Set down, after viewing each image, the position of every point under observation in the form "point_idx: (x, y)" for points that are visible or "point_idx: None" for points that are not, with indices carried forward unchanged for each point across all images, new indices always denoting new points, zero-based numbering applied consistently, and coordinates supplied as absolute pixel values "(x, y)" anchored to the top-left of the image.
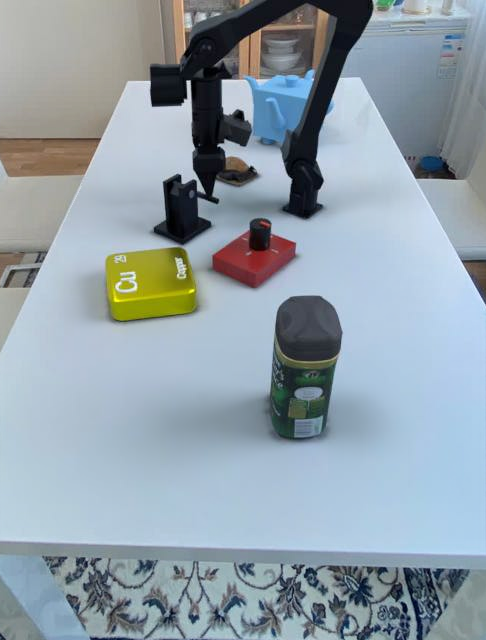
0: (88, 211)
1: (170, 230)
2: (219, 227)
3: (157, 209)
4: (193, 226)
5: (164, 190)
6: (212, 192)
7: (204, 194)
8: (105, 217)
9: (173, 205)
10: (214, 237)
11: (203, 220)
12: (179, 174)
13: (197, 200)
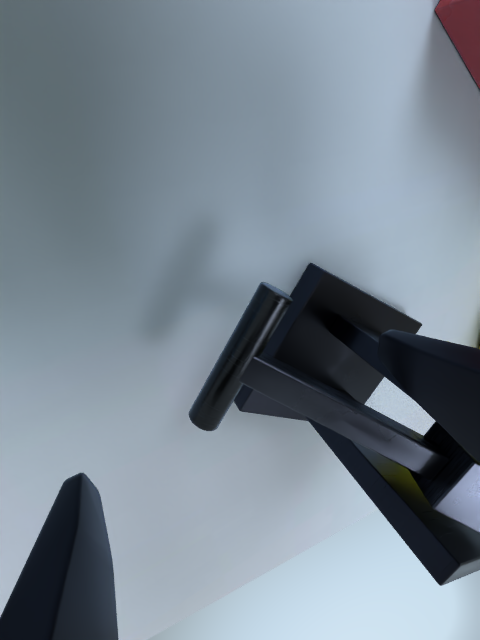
0: (240, 573)
1: (370, 379)
2: (314, 224)
3: (202, 477)
4: (360, 323)
5: None
6: (421, 338)
7: (298, 380)
8: (264, 535)
9: None
10: (381, 226)
11: (318, 305)
12: (453, 573)
13: None
